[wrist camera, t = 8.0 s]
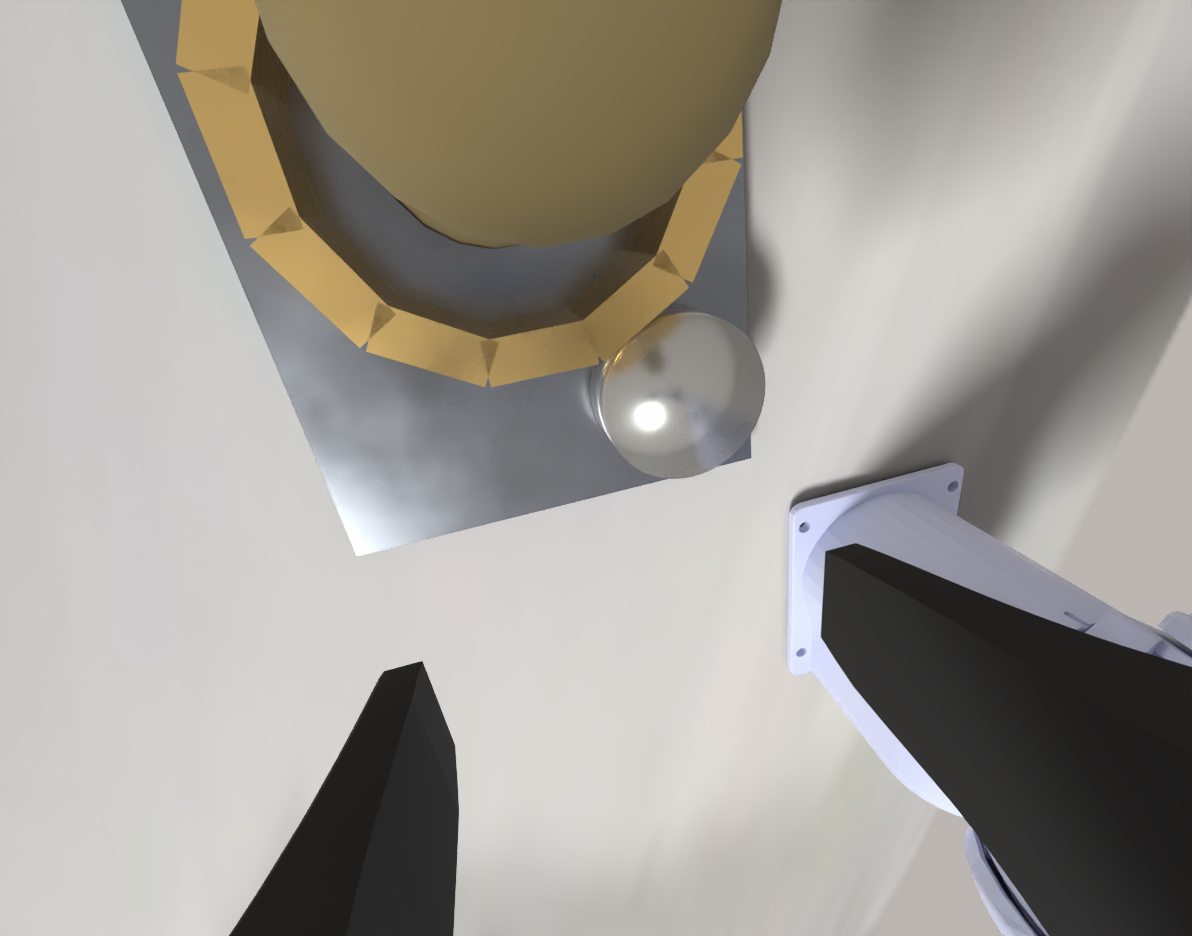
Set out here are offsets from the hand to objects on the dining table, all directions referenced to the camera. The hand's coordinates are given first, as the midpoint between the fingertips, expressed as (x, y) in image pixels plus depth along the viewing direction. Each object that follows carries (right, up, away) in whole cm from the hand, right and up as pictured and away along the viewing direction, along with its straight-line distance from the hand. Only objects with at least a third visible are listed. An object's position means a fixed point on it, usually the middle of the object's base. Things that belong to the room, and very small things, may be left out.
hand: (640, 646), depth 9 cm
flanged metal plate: (-3, +10, +6) cm, 12 cm away
